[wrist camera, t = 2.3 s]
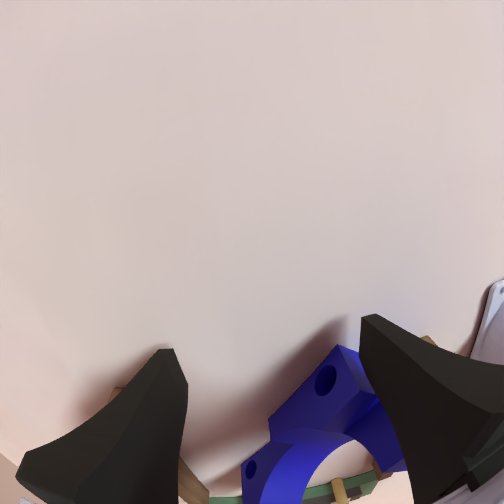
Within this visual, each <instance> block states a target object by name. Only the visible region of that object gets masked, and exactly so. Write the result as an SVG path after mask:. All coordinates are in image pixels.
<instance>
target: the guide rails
mask: <svg viewBox="0 0 504 504" xmlns="http://www.w3.org/2000/svg"><path fill="white" fill-rule="evenodd" d="M421 339H423V340H425V341H427V342H429V343H431V344H433V345H435V346H437V345H436V344H435V343H434V341H433V340H432V339H431V338H430V337H429V336H425V337H422V338H421ZM437 347H438V346H437ZM123 389H124V388H114V391H113V393H112V395H111V398H110V400H109V402H108V403H110V402H111V401H112V400H113V399H114V398H115V397H116V396H117V395H118V394H119V393H120V392H121V391H122V390H123ZM372 466H373V469H374V471H375V474H376V477H377V479H378V481H380V480H383V479H386V478H388V477H391V475H392V474H393V472H391V473H382V472H381V470H380V468H379V465H378V464H377V462H376V460H375V459H374V461H373V463H372ZM178 495H179V496H180V497H181V498H182V499H183V500H184V501H186V502H187V503H188V504H209V491H208V490H207V489H206V488H205V487H204V485H203V484H202V483H201V482H200V481H199V480H198V479H197V477H196V476H195V475H194V474H193V473H192V472H191V470H190V469H189V468H188V467H187V465H186V464H185V463H184V462H183V460H182V459H181V458H180V457H179V462H178Z"/></svg>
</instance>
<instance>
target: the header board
mask: <svg viewBox="0 0 504 504" xmlns="http://www.w3.org/2000/svg"><path fill="white" fill-rule="evenodd" d="M377 483H378V479H377V477H376V474H375V471H374V470H373V471H370V472H367V473H364V474H361V475H358V476H355V477H351V478H348V479H345V480H342V478H336V479H334V480H332V481H331V483H329V484H325V485H321V486H316V487H312V488H307V489H305V491H304V494H303V498H302V501H301V504H349V501H352V500H356V499H359V498H360V497H362V496H365V495H368V494H371V493H372V491H373V489H374V488H375V486H376V484H377ZM209 504H243V500H242V497H231V498H209Z"/></svg>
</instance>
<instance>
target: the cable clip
mask: <svg viewBox="0 0 504 504" xmlns="http://www.w3.org/2000/svg"><path fill="white" fill-rule="evenodd" d="M268 422H269V430H270V438H271V442H269V443H268V444H267V445H266V446H265V447H263V448H262V449H261V450H260V451H258V452H257V453H256V454H254V455H253V456H252V457H251V458H249V459H248V460H247V461H245V462H244V463H243V464H241V478H242V500H243V504H301V501H302V498H303V494H304V491H305V489H306V486H307V484H308V482H309V480H310V478H311V476H312V475H313V473H314V471H315V470H316V469H317V467H318V466H319V465H320V463H321V462H322V461H323V460H324V459H325V458H326V457H327V456H328V455H329V454H330V453H331V452H333V451H334V450H335V449H337V448H338V447H340V446H341V445H343V444H345V443H347V442H349V441H352V440H354V439H355V440H357V441H358V442H360V443H361V444H362V445H363V446H364V447H365V448H366V449H367V450H368V451H369V452H370V453H371V455H372V456H373V457H374V459H375V460H376V462H377V464H378V465H379V468H380V470H381V472H382V473H391V472H400V471H407V467H406V463H405V460H404V457H403V453H402V450H401V447H400V444H399V441H398V439H397V436H396V433H395V431H394V428H393V425H392V423H391V421H390V419H389V417H388V415H387V413H386V411H385V410H384V408H383V406H382V404H381V402H380V401H379V399H378V397H377V395H376V393H375V392H374V390H373V388H372V386H371V384H370V382H369V381H368V379H367V377H366V374H365V372H364V370H363V367H362V364H361V362H360V359H359V353H358V352H355V351H353V350H350V349H348V348H345V347H343V346H340V345H338V344H337V346H336V347H335V348H334V349H333V350H332V352H331V353H330V354H329V355H328V356H327V357H326V359H325V360H324V361H323V362H322V363H321V364H320V366H319V367H318V368H317V369H316V370H315V371H314V372H313V373H312V375H311V376H310V377H309V378H308V379H307V380H306V381H305V382H304V383H303V384H302V386H301V387H300V388H299V389H298V390H297V391H296V392H295V393H294V394H293V395H292V396H291V397H290V398H289V399H288V400H287V401H286V402H285V403H284V404H283V405H282V406H281V407H280V408H279V409H278V410H277V411H276V412H275V413H274V414H273V415H272V416H271V417H270V418H269V419H268Z"/></svg>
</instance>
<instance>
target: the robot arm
mask: <svg viewBox="0 0 504 504" xmlns="http://www.w3.org/2000/svg"><path fill="white" fill-rule="evenodd" d="M359 359H360V362H361V364H362V367H363V370H364V372H365V374H366V377H367V379H368V381H369V382H370V384H371V386H372V388H373V390H374V392H375V393H376V395H377V397H378V399H379V401H380V402H381V404H382V406H383V408H384V410H385V411H386V413H387V415H388V417H389V419H390V421H391V423H392V425H393V428H394V431H395V433H396V436H397V439H398V441H399V444H400V447H401V450H402V453H403V457H404V460H405V463H406V467H407V471H408V475H409V479H410V483H411V488H412V493H413V499H414V504H504V279H503V280H501V281H499V282H497V283H495V284H493V286H492V287H491V289H490V292H489V296H488V300H487V304H486V308H485V312H484V315H483V319H482V322H481V326H480V329H479V332H478V336H477V339H476V342H475V345H474V347H473V350H472V353H471V356H470V358H467V357H464V356H461V355H458V354H455V353H452V352H450V351H447V350H444V349H442V348H440V347H437V346H435V345H433V344H431V343H429V342H427V341H425V340H423V339H421V338H419V337H417V336H415V335H413V334H411V333H410V332H408V331H406V330H404V329H402V328H401V327H399V326H397V325H395V324H394V323H392V322H390V321H388V320H387V319H385V318H383V317H381V316H379V315H377V314H372V315H368V316H364V317H361V332H360V346H359ZM187 404H188V383H187V381H186V379H185V376H184V374H183V372H182V369H181V367H180V364H179V362H178V359H177V357H176V354H175V352H174V349H173V348H172V349H159V350H158V351H157V352H156V353H155V354H154V355H153V356H152V357H151V358H150V360H149V361H148V362H147V363H146V364H145V365H144V367H143V368H142V369H141V370H140V371H139V372H138V373H137V374H136V376H135V377H134V378H133V379H132V380H131V381H130V382H129V383H128V384H127V385H126V387H125V388H124V389H123V390H122V391H121V392H120V393H119V394H118V395H117V396H116V397H115V398H114V399H113V400H112V401H111V402H110V403H108V404H107V405H106V406H105V407H104V408H103V409H102V410H100V411H99V412H98V413H97V414H95V415H94V416H93V417H92V418H90V419H89V420H87V421H86V422H85V423H83V424H82V425H80V426H79V427H77V428H76V429H74V430H73V431H71V432H69V433H68V434H66V435H64V436H62V437H60V438H58V439H56V440H54V441H52V442H50V443H48V444H46V445H43V446H41V447H38V448H36V449H33V450H30V451H27V452H26V453H25V455H24V457H23V459H22V462H21V464H20V466H19V469H18V471H17V473H16V476H15V477H16V479H17V481H18V482H19V483H20V484H21V485H23V486H24V487H25V488H26V489H27V490H29V491H30V492H31V493H33V494H34V495H35V496H37V497H38V498H40V499H41V500H43V501H44V502H46V503H47V504H179V501H178V462H179V452H180V446H181V441H182V435H183V429H184V424H185V418H186V412H187ZM19 504H36V503H33V502H32V501H30V500H28V499H26V498H24V497H22V498H21V501H20V503H19Z"/></svg>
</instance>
